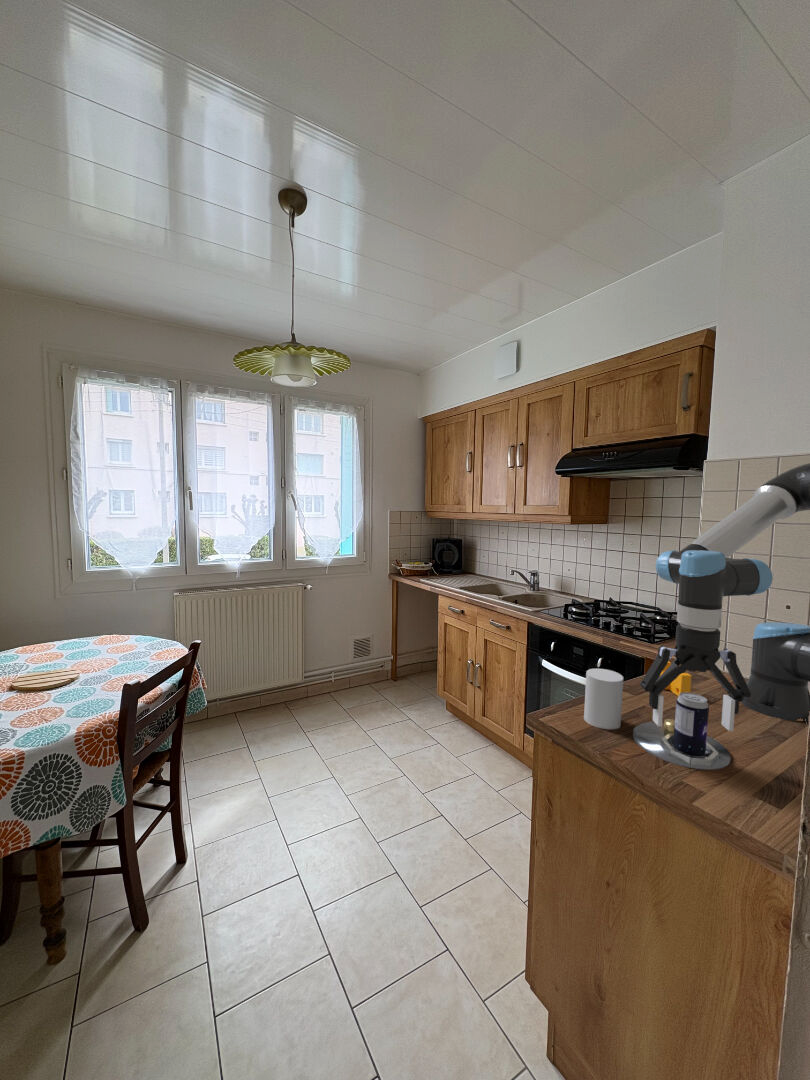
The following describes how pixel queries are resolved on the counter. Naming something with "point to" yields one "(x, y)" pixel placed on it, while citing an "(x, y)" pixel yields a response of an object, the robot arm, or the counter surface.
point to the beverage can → (691, 724)
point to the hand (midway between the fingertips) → (691, 725)
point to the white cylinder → (603, 698)
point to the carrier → (661, 746)
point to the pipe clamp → (679, 682)
